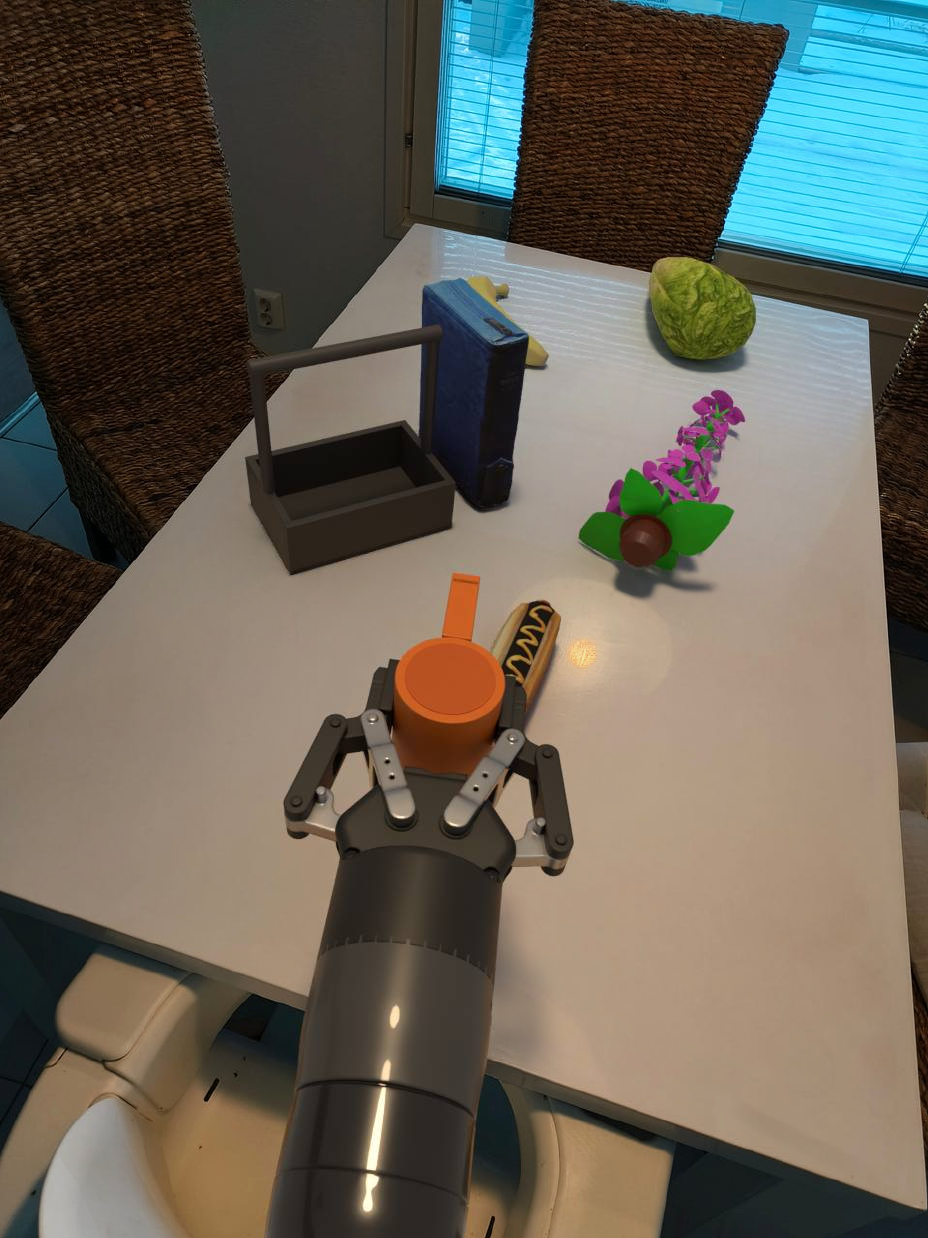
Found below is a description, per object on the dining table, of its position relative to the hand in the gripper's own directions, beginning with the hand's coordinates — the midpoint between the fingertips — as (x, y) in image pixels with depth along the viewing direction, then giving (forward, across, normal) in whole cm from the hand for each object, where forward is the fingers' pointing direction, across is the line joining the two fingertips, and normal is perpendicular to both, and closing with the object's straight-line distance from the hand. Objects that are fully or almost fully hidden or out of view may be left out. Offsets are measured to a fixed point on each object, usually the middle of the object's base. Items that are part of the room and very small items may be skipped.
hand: (451, 677), depth 47 cm
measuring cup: (0, 0, +6) cm, 6 cm away
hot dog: (+18, -5, +22) cm, 29 cm away
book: (+47, +3, +22) cm, 52 cm away
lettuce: (+88, -25, +22) cm, 94 cm away
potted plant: (+48, -20, +22) cm, 56 cm away
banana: (+81, +1, +22) cm, 84 cm away
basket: (+37, +13, +22) cm, 45 cm away
